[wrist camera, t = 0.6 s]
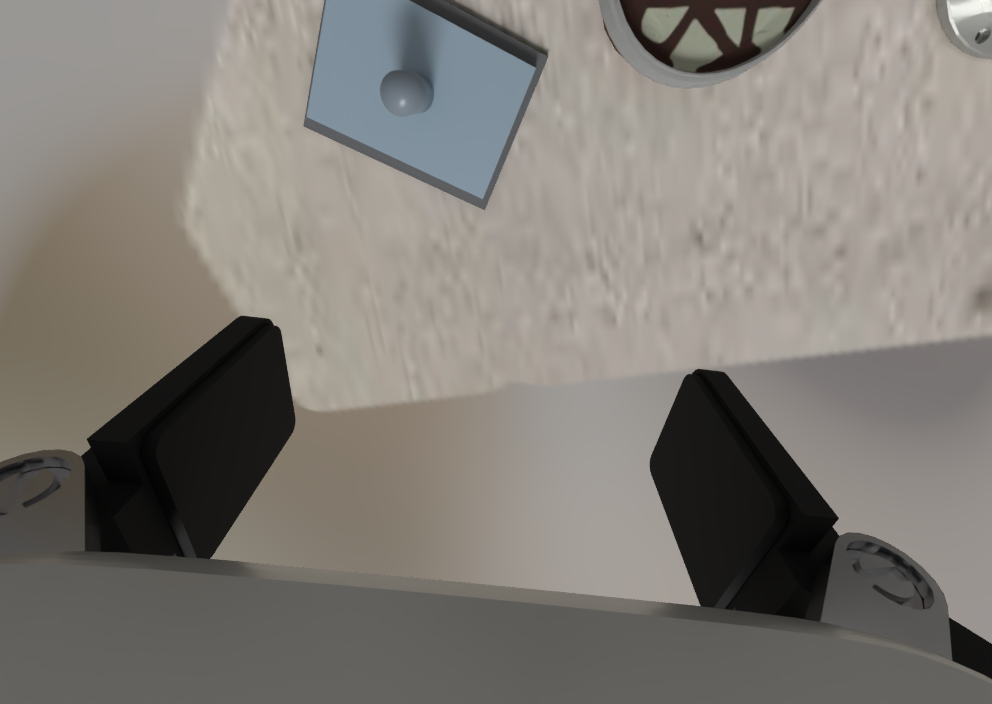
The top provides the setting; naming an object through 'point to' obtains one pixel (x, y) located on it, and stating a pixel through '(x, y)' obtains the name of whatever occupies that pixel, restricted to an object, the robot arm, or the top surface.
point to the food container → (700, 36)
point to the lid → (417, 88)
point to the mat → (447, 11)
